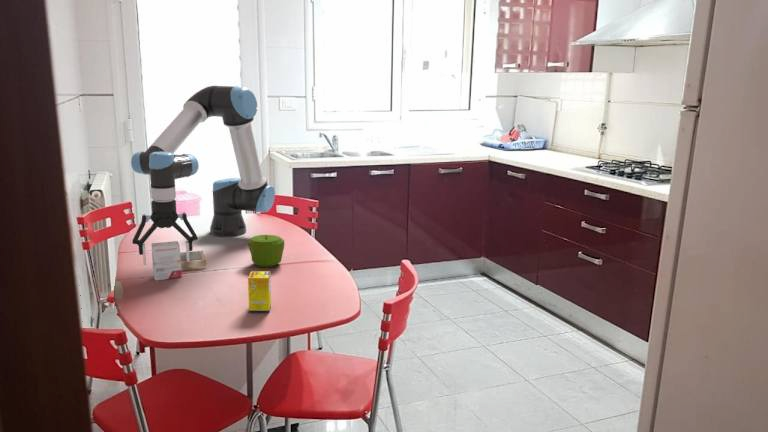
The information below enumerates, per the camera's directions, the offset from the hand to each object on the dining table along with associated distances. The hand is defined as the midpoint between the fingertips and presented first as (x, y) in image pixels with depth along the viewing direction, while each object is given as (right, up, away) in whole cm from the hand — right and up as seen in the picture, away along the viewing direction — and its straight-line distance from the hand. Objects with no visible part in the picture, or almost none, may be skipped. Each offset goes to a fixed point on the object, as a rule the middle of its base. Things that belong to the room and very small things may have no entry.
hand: (166, 262), depth 201 cm
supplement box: (+36, -12, -23) cm, 44 cm away
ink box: (0, -5, +2) cm, 6 cm away
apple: (+30, -2, +18) cm, 35 cm away
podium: (+2, -2, +15) cm, 15 cm away
